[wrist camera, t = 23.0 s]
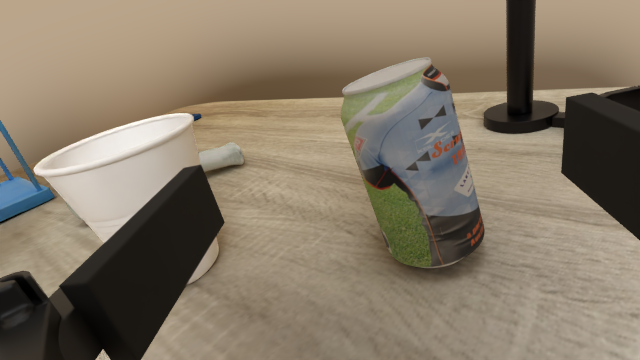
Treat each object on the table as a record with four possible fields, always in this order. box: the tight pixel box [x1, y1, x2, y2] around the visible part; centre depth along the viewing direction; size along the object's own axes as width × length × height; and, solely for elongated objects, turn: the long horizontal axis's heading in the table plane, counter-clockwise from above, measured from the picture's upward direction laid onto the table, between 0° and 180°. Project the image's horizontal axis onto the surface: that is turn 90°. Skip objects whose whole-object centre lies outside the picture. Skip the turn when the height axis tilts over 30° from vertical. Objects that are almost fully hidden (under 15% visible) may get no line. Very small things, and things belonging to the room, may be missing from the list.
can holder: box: [484, 0, 640, 133], centre depth 29 cm, size 13×20×17 cm, turn 59°
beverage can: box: [341, 58, 484, 268], centre depth 21 cm, size 6×7×12 cm
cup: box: [34, 113, 219, 285], centre depth 26 cm, size 10×10×11 cm
